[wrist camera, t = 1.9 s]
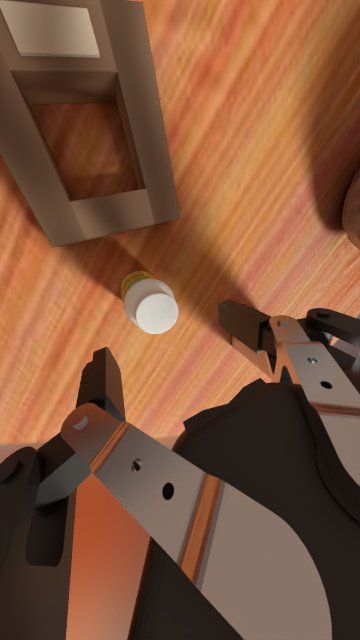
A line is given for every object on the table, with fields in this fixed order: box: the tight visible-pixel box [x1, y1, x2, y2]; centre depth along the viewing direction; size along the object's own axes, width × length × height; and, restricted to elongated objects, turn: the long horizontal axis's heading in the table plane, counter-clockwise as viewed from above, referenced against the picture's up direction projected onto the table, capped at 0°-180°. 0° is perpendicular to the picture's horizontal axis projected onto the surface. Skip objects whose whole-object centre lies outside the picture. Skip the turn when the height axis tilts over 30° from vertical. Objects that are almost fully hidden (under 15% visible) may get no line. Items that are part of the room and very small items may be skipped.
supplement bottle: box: [121, 271, 178, 334], centre depth 18 cm, size 5×5×10 cm
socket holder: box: [0, 0, 180, 247], centre depth 14 cm, size 13×13×3 cm
